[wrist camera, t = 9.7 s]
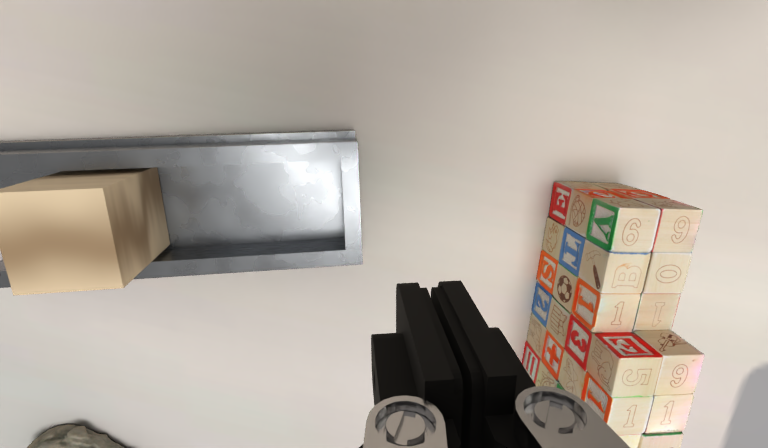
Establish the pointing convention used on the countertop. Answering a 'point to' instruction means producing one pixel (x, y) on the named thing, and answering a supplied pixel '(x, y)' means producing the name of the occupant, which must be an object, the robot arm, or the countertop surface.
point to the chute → (226, 195)
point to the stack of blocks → (616, 308)
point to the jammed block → (81, 229)
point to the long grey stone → (72, 438)
